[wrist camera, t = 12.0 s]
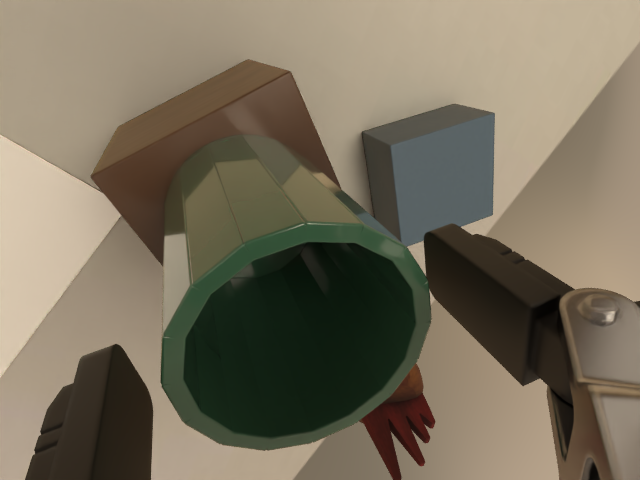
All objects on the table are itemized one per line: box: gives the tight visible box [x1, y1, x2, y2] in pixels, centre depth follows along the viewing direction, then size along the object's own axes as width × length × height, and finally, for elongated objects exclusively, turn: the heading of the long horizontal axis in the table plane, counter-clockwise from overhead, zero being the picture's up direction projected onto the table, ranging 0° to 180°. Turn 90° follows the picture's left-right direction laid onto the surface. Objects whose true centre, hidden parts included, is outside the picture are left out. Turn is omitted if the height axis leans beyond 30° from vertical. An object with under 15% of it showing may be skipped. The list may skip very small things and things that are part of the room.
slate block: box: [362, 104, 495, 247], centre depth 27 cm, size 7×7×4 cm
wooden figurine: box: [360, 364, 435, 480], centre depth 24 cm, size 7×6×15 cm
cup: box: [161, 134, 431, 451], centre depth 13 cm, size 6×6×8 cm
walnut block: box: [91, 60, 341, 266], centre depth 20 cm, size 8×8×9 cm
